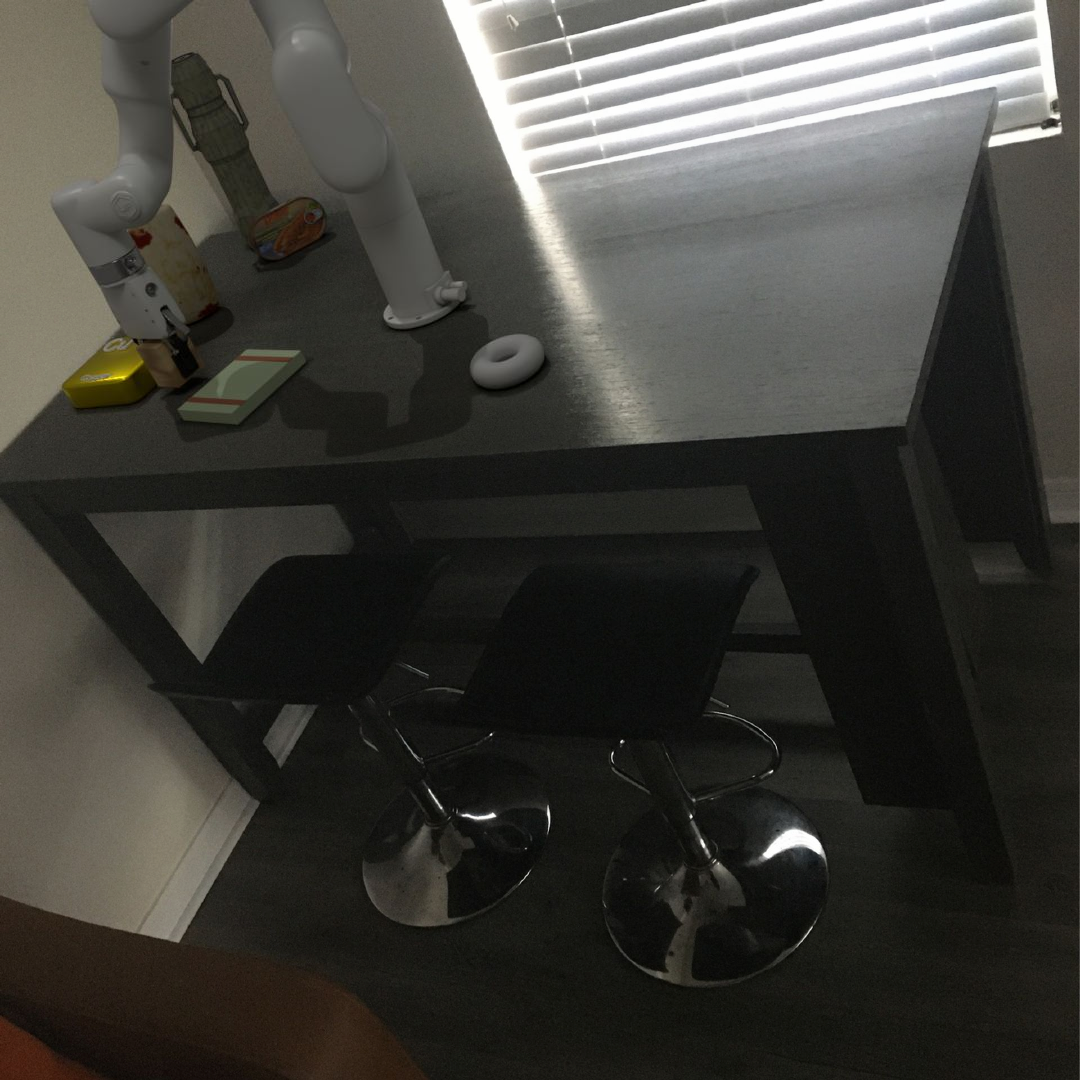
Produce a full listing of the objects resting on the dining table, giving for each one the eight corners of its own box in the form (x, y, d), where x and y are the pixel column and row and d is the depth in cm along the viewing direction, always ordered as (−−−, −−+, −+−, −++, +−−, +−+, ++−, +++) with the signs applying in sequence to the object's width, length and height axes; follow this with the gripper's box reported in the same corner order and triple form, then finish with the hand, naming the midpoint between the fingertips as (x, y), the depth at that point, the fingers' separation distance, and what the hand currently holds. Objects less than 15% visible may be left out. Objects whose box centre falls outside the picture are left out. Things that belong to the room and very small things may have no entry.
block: (205, 365, 167) (183, 326, 163) (179, 387, 164) (156, 348, 160) (184, 365, 170) (162, 326, 166) (158, 386, 167) (135, 348, 163)
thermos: (303, 228, 210) (218, 45, 189) (249, 256, 207) (157, 73, 186) (289, 219, 217) (205, 42, 196) (237, 246, 214) (146, 68, 193)
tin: (264, 268, 199) (243, 226, 194) (259, 264, 202) (238, 222, 197) (334, 231, 203) (315, 189, 198) (329, 228, 205) (310, 186, 200)
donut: (463, 378, 143) (494, 403, 135) (454, 356, 141) (484, 379, 133) (527, 343, 145) (561, 366, 137) (519, 321, 143) (553, 342, 135)
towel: (306, 361, 162) (300, 349, 160) (238, 424, 152) (231, 412, 151) (252, 360, 168) (246, 348, 167) (183, 420, 159) (176, 409, 158)
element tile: (70, 410, 175) (53, 385, 172) (124, 359, 185) (109, 335, 182) (138, 404, 169) (121, 378, 166) (190, 352, 179) (175, 327, 176)
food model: (183, 334, 186) (122, 227, 174) (171, 325, 191) (111, 221, 179) (232, 306, 189) (175, 199, 177) (219, 299, 194) (162, 194, 182)
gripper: (173, 251, 153) (232, 360, 164) (101, 255, 163) (161, 357, 174) (136, 278, 149) (199, 388, 160) (64, 280, 158) (128, 384, 169)
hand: (179, 371), depth 167 cm, fingers closed on block, 5 cm apart
